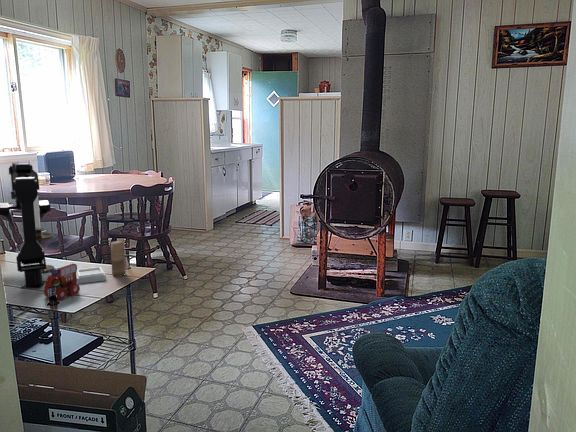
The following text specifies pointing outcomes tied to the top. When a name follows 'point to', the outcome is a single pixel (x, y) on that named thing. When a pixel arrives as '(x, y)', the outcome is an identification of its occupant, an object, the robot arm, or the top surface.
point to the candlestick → (39, 235)
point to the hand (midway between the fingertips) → (26, 225)
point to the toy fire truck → (63, 281)
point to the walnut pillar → (118, 258)
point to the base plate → (90, 275)
